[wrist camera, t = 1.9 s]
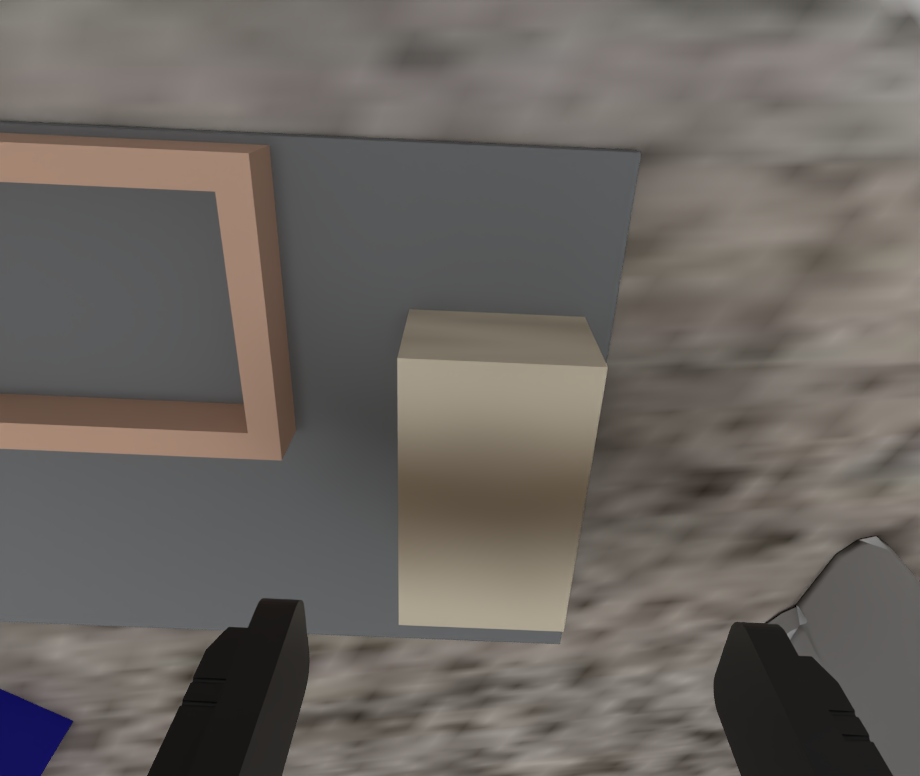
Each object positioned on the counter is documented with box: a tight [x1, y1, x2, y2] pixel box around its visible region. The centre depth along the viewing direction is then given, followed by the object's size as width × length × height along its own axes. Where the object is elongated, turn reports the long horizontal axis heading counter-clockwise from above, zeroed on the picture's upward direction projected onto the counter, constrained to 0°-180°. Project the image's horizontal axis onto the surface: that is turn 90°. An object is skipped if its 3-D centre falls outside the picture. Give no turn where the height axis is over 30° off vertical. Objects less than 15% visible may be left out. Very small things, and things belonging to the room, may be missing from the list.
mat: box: [0, 121, 641, 644], centre depth 18 cm, size 20×16×1 cm
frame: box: [0, 133, 296, 461], centre depth 15 cm, size 11×8×2 cm
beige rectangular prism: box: [397, 309, 608, 632], centre depth 16 cm, size 8×4×3 cm, turn 178°
